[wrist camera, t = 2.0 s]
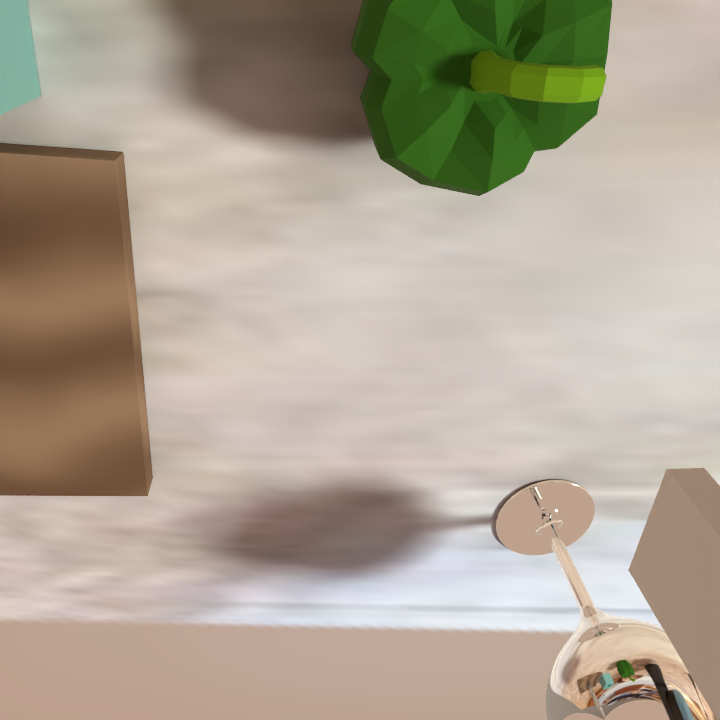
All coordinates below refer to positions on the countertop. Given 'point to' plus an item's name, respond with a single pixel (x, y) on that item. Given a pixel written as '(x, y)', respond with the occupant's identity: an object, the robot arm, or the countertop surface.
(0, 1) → the bead
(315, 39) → the countertop surface
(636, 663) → the wineglass
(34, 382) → the post board
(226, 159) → the countertop surface
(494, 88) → the bell pepper
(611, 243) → the countertop surface
